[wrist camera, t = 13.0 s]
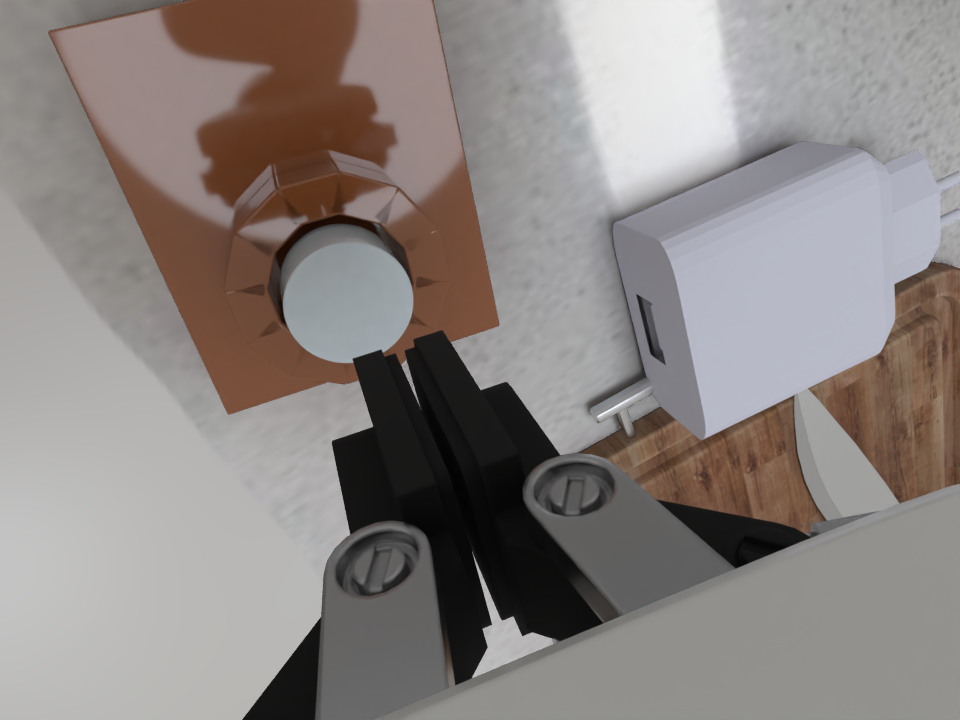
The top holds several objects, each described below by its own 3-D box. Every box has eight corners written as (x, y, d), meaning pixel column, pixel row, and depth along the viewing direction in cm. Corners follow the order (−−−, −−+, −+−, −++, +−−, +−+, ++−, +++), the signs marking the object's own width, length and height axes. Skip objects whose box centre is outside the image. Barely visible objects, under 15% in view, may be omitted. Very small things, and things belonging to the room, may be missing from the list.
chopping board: (482, 459, 31) (504, 500, 28) (961, 193, 33) (1024, 208, 30) (689, 843, 54) (712, 885, 51) (961, 675, 56) (996, 707, 53)
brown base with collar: (73, 30, 19) (24, 31, 15) (401, -42, 21) (441, -59, 17) (229, 376, 25) (226, 447, 21) (476, 297, 27) (519, 348, 23)
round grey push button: (261, 243, 19) (263, 264, 17) (382, 208, 20) (395, 226, 18) (302, 350, 21) (307, 380, 19) (411, 315, 21) (426, 341, 20)
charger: (913, 274, 33) (650, 399, 31) (909, 86, 29) (605, 218, 27) (1006, 303, 29) (709, 449, 27) (1018, 88, 25) (667, 244, 23)
